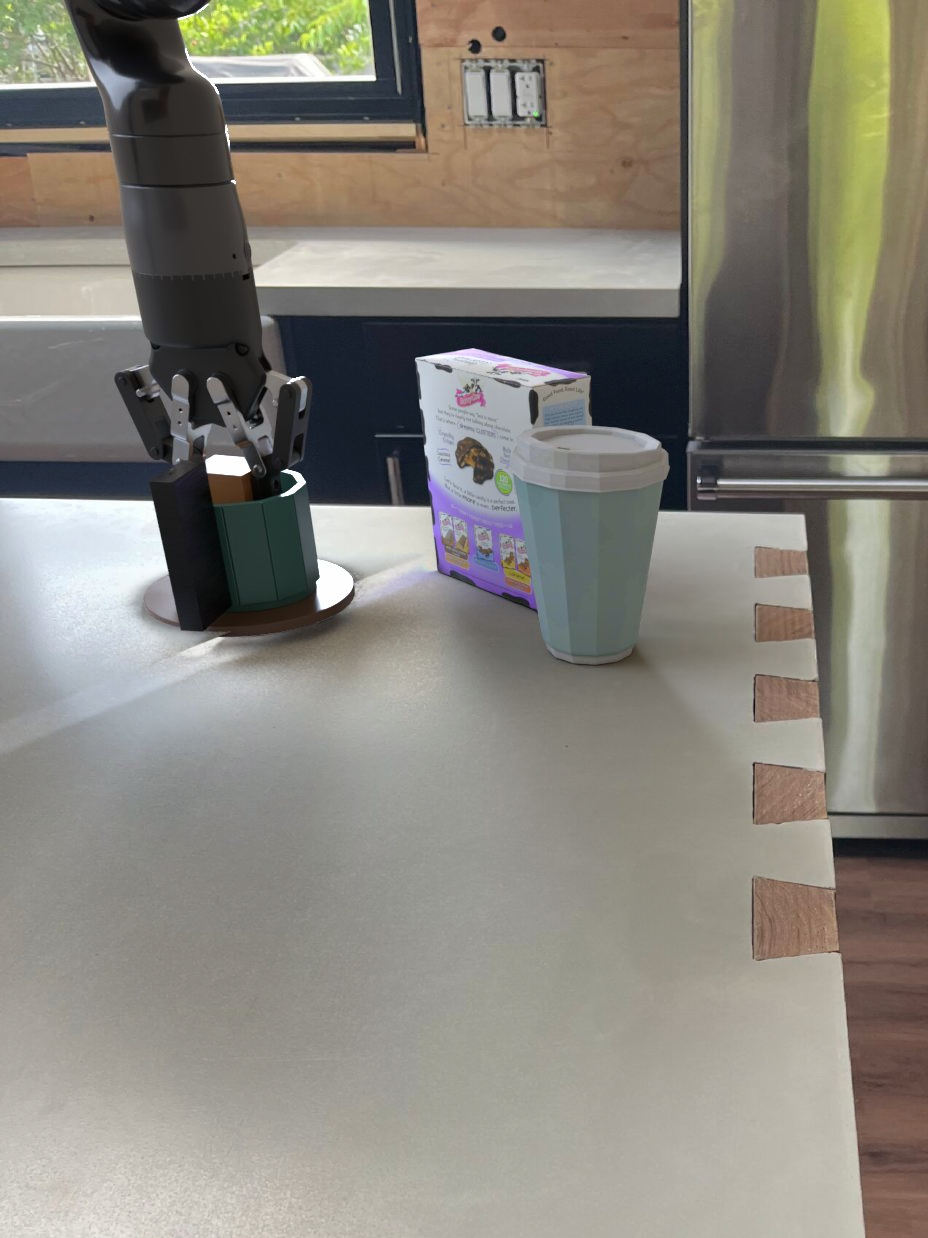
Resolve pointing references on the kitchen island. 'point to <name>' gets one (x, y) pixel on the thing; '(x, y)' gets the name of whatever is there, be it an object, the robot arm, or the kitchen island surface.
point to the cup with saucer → (240, 559)
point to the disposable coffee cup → (589, 533)
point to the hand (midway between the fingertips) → (238, 522)
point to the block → (229, 479)
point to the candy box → (487, 457)
